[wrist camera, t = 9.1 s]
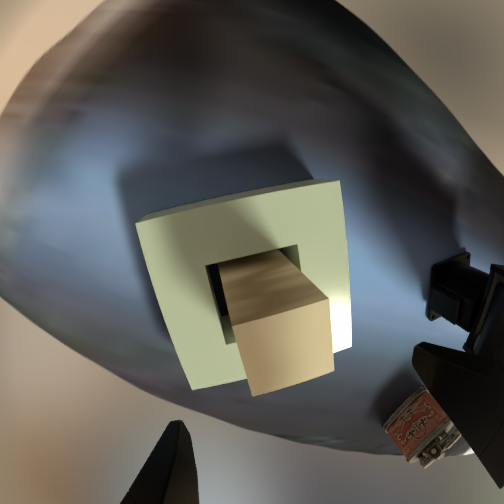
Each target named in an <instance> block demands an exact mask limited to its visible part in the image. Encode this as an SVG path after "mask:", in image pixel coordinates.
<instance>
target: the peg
mask: <svg viewBox="0 0 504 504" xmlns="http://www.w3.org/2000/svg"><path fill="white" fill-rule="evenodd" d="M218 267H219V272H220V276H221V281H222V285H223V290H224V294H225V299H226V303H227V307H228V312H229V316H230V320H231V325H232V328H233V332H234V335H235V339H236V342H237V346H238V349H239V353H240V356H241V360H242V363H243V366H244V370H245V373H246V376H247V380H248V383H249V386H250V389H251V393H252V396H257V395H260V394H264V393H268V392H271V391H275V390H278V389H281V388H285V387H288V386H291V385H295V384H298V383H301V382H304V381H307V380H310V379H313V378H316V377H319V376H321V375H324V374H327V373H330V372H332V371H334V356H333V341H332V327H331V315H330V304H329V298H328V297H327V296H326V295H325V294H324V293H323V292H322V291H321V290H320V289H319V288H318V287H317V286H316V285H315V284H314V283H312V282H311V281H310V280H309V279H308V278H307V277H306V276H305V275H304V274H303V273H302V272H301V271H300V270H299V269H298V268H297V267H296V266H295V265H294V264H293V263H292V262H291V261H290V260H289V259H288V258H286V257H285V256H284V255H283V254H282V253H281V252H280V251H279V250H278V249H274V250H270V251H265V252H261V253H257V254H252V255H248V256H244V257H240V258H235V259H231V260H227V261H222V262H218Z"/></svg>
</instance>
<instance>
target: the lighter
mask: <svg viewBox="0 0 504 504" xmlns="http://www.w3.org/2000/svg"><path fill="white" fill-rule="evenodd" d="M453 425H454V424H453V422H452V421H451V420H450V419H449V417H448V416H447V415H446V413H445V412H444V411H443V409H442V408H441V407H440V406H439V404H438V403H437V402H436V400H435V399H434V398H433V397H432V396H431V395H430V394H429V392H428V390H427V389H426V388H425V387H420V388H419V389H417V390H416V391H415V392H414V393H413V394H412V395H411V396H410V397H409V398H408V399H407V400H406V401H405V402H404V403H403V404H402V405H401V406H400V407H399V408H398V409H397V410H396V411H395V412H394V413H393V415H392V416H391V417H390V418H389V419H388V420H387V422H386V423H385V424H384V426H383V429H384V430H385V431H386V432H387V433H389V435H390V436H391V437H392V439H393V440H394V442H395V443H396V444H397V446H398V447H399V448H400V450H401V451H402V453H403V454H404V455H405V457H406V460H407V462H408V463H409V464H412V463H414V462H416V461H417V460H420V462H421V463H420V464H421V465H422V466H423V468H427V467H428V466H429V465H430V464H432V463H433V462H434V461H435V460H436V459H441V458H442V457H443V456H444V455H445V450H446V449H449V448H450V447H451V446H452V445H453V444H454V443H455V442H456V441H457V440H458V439H459V438H460V437H461V433H460V432H459V431H458V430H457V429H455V430H453V431H452V433H451V434H450V435H449V436H448V434H447V432H448V431H449V430H450V429H451V427H452V426H453ZM442 438H443V439H445V440H444V441H443V442H442V443H441V439H442ZM425 454H427V455H428V456H427V457H425V456H424V455H425Z"/></svg>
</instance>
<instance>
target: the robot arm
mask: <svg viewBox="0 0 504 504" xmlns="http://www.w3.org/2000/svg"><path fill="white" fill-rule="evenodd" d="M470 256H471V255H470V253H469V252H464V253H462V254H459V255H457V256H454V257H452V258H449V259H447V260H444V261H442V262H439V263H437V264H435V265H434V266H433V267H432V275H431V289H430V301H429V310H428V319H429V320H430V321H433V320H435V319H437V318H439V317H441V316H442V317H443V318H445V319H446V320H448V321H449V322H451V323H452V324H454V325H458V326H459V327H461V328H462V329H464V330H465V331H467V332H470V333H469V336H468V338H467V340H466V343H464V345H463V349H464V350H465V352H463V351H459V350H455V349H451V348H447V347H443V346H439V345H435V344H431V343H427V342H421V343H419V344H417V345H415V347H414V350H413V356H412V365H413V367H414V369H415V370H416V372H417V373H418V375H419V377H420V378H421V380H422V381H423V383H424V385H425V386H426V388H427V389H428V391H429V392H430V394H431V395H432V397H433V398H434V399H435V400H436V402H437V403H438V404H439V406H440V407H441V408H442V409H443V411H444V412H445V413H446V415H447V416H448V417H449V419H450V420H451V421H452V422H453V424H454V425H455V426H456V428H457V429H458V431H459V432H460V433H461V435H462V436H463V437H464V439H465V440H466V441H467V443H468V444H469V445H470V447H471V448H472V450H473V451H474V452H475V454H476V455H477V457H478V458H479V460H480V461H481V463H482V464H483V465H484V467H485V468H486V470H487V471H488V473H489V474H490V476H491V477H492V478H493V480H494V481H495V483H496V484H497V486H498V487H499V488H500V489H501V488H502V487H503V486H504V265H497V264H491V267H490V274H487V273H485V272H483V271H480V270H478V269H476V268H474V267H471V266H470ZM120 504H199V492H198V477H197V469H196V464H195V458H194V452H193V447H192V441H191V436H190V433H189V432H188V430H187V428H186V426H185V425H184V423H183V421H182V420H175V421H171V422H170V423H169V424H168V426H167V427H166V429H165V431H164V432H163V434H162V436H161V437H160V439H159V441H158V442H157V444H156V446H155V447H154V449H153V451H152V452H151V454H150V456H149V457H148V459H147V461H146V462H145V464H144V466H143V467H142V469H141V471H140V472H139V474H138V476H137V477H136V479H135V480H134V482H133V484H132V485H131V487H130V489H129V491H128V492H127V493H126V495H125V497H124V498H123V500H122V501H121V503H120Z"/></svg>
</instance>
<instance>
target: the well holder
mask: <svg viewBox="0 0 504 504" xmlns="http://www.w3.org/2000/svg"><path fill="white" fill-rule="evenodd" d="M135 225H136V228H137V232H138V236H139V240H140V243H141V247H142V251H143V254H144V258H145V261H146V265H147V268H148V271H149V274H150V278H151V281H152V284H153V287H154V290H155V293H156V296H157V299H158V302H159V305H160V308H161V311H162V314H163V317H164V320H165V323H166V325H167V328H168V331H169V334H170V336H171V339H172V342H173V344H174V347H175V349H176V352H177V354H178V357H179V359H180V362H181V364H182V367H183V369H184V372H185V374H186V376H187V379H188V381H189V384H190V386H191V388H192V390H195V389H200V388H205V387H210V386H215V385H220V384H225V383H229V382H234V381H238V380H242V379H246V378H247V376H246V373H245V370H244V366H243V363H242V360H241V356H240V353H239V349H238V346H237V342H236V339H235V335H234V332H233V328H232V325H231V320H230V316H229V315H225V316H221V315H220V311H219V307H218V303H217V300H216V296H215V292H214V288H213V284H212V280H211V276H210V272H209V268H208V265H209V264H214V263H218V262H222V261H227V260H231V259H235V258H240V257H244V256H248V255H252V254H257V253H261V252H265V251H270V250H274V249H278V248H282V251H283V255H284V256H285V257H286V258H288V259H289V260H290V261H291V262H292V263H293V264H294V265H295V266H296V267H297V268H298V269H299V270H300V271H301V272H302V273H303V274H304V275H305V276H306V277H307V278H308V279H309V280H310V281H311V282H312V283H314V284H315V285H316V286H317V287H318V288H319V289H320V290H321V291H322V292H323V293H324V294H325V295H326V296H327V297H328V298H329V304H330V315H331V327H332V341H333V353H334V352H337V351H340V350H343V349H346V348H348V347H351V302H350V281H349V265H348V252H347V240H346V230H345V220H344V211H343V203H342V195H341V187H340V181H338V180H323V179H311V180H305V181H299V182H293V183H288V184H282V185H277V186H271V187H266V188H261V189H256V190H250V191H245V192H241V193H236V194H231V195H226V196H221V197H217V198H212V199H208V200H203V201H199V202H195V203H190V204H186V205H182V206H178V207H174V208H169V209H165V210H161V211H157V212H154V213H150V214H147V215H146V216H144V217H143V218H142V219H140V220H139V221H138V222H136V223H135Z"/></svg>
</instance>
